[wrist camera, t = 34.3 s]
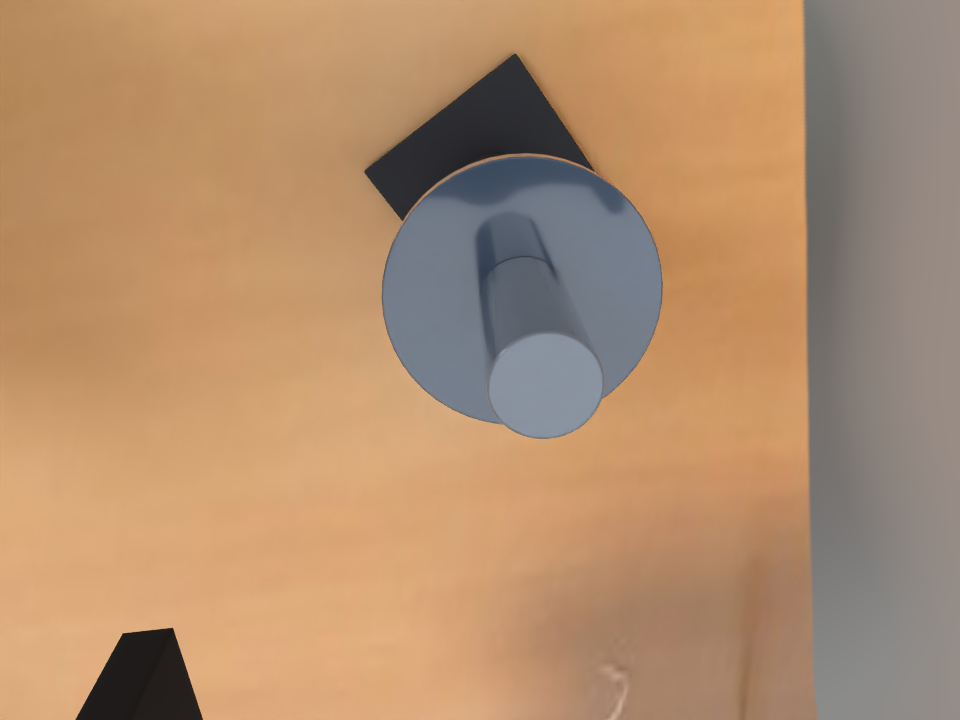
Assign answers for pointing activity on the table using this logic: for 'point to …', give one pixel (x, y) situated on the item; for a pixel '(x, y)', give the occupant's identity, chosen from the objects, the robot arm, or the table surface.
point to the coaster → (474, 136)
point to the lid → (522, 292)
